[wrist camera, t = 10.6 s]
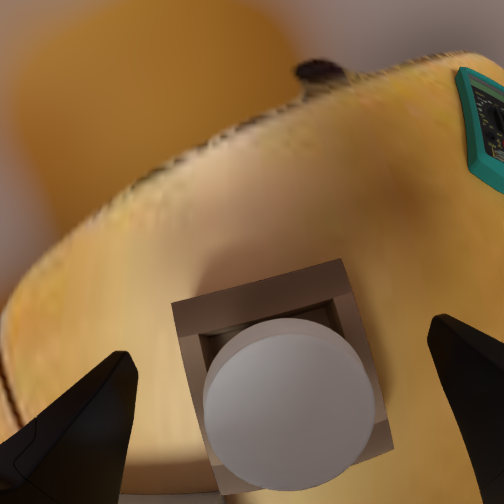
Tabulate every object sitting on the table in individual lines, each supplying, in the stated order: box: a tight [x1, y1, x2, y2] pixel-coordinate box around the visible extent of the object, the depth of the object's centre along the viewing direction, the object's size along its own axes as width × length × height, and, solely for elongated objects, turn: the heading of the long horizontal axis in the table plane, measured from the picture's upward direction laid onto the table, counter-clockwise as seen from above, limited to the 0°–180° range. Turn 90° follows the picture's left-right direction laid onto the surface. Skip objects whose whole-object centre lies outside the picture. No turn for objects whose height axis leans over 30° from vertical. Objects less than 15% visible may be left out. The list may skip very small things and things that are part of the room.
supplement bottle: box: [203, 318, 375, 491], centre depth 11 cm, size 5×5×10 cm
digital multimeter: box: [455, 67, 504, 194], centre depth 20 cm, size 7×15×3 cm, turn 160°
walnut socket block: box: [171, 258, 394, 496], centre depth 14 cm, size 10×8×3 cm
